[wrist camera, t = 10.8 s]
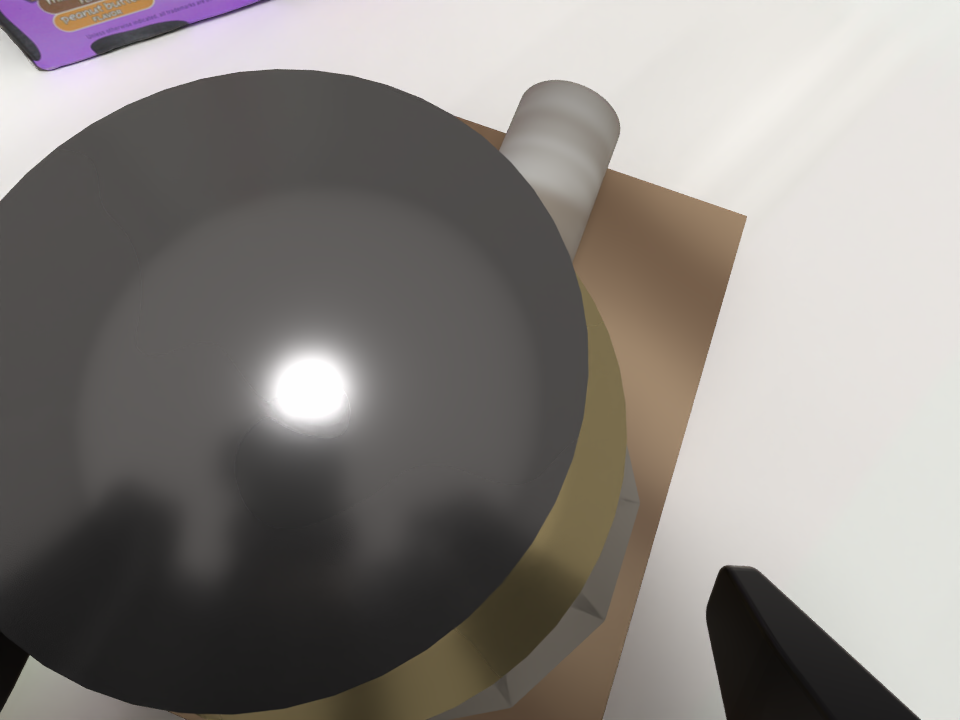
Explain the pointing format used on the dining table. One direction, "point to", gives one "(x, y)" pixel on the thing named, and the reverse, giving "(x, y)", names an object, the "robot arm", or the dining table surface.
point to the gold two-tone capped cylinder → (294, 406)
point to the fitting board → (642, 361)
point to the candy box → (96, 24)
